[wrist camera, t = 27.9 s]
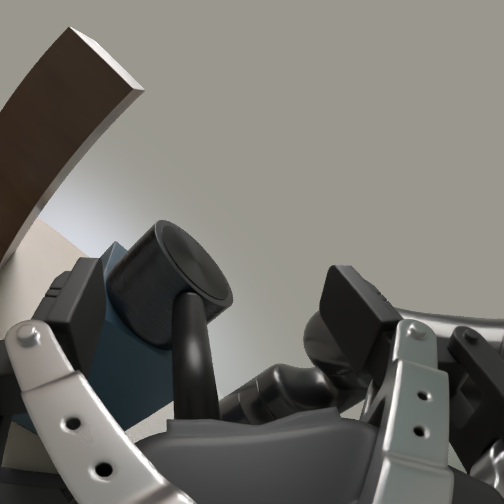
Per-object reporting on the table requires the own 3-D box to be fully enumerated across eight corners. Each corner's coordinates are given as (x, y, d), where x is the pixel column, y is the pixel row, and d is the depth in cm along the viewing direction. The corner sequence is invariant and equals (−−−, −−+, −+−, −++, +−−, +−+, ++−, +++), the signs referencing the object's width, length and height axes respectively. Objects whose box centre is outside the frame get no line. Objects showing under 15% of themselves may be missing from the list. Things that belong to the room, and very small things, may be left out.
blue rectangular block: (25, 350, 30) (115, 240, 27) (90, 390, 35) (193, 303, 31) (3, 415, 21) (92, 310, 18) (82, 456, 26) (203, 381, 23)
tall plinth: (-27, 208, 34) (94, 40, 29) (16, 250, 38) (145, 90, 34) (-61, 237, 25) (69, 26, 20) (-12, 286, 30) (133, 88, 25)
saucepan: (115, 250, 25) (159, 205, 25) (182, 304, 29) (226, 267, 28) (56, 494, 8) (130, 463, 7) (204, 531, 11) (294, 501, 10)
